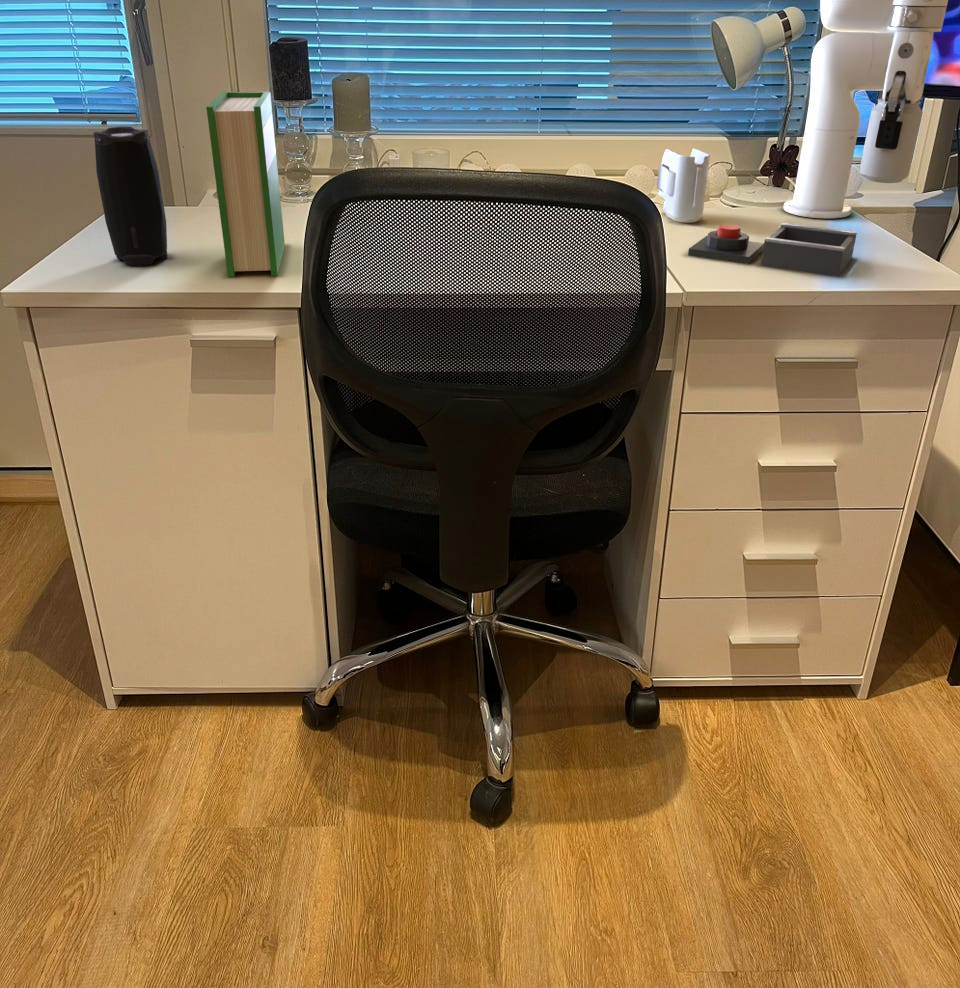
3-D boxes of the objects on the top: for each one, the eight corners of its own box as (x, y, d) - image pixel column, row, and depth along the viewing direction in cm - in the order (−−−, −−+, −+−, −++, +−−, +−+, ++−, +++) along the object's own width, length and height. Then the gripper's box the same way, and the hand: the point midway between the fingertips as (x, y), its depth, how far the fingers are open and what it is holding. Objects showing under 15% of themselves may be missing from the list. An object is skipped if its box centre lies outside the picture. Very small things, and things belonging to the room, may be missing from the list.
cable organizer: (682, 210, 183) (690, 145, 177) (708, 225, 173) (717, 157, 167) (650, 211, 182) (657, 146, 176) (675, 226, 171) (682, 158, 166)
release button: (720, 233, 157) (721, 223, 156) (741, 236, 155) (743, 225, 154) (714, 238, 154) (715, 227, 153) (735, 241, 152) (737, 230, 152)
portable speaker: (129, 251, 154) (107, 124, 144) (182, 254, 152) (163, 127, 142) (101, 265, 146) (76, 132, 137) (156, 269, 145) (134, 135, 135)
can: (911, 185, 146) (930, 103, 140) (861, 182, 148) (877, 101, 142) (902, 176, 153) (920, 97, 147) (854, 173, 154) (870, 95, 148)
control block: (705, 242, 162) (707, 225, 160) (763, 250, 158) (766, 232, 156) (687, 255, 154) (689, 237, 153) (748, 264, 150) (750, 245, 149)
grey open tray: (778, 249, 158) (782, 222, 156) (851, 258, 153) (857, 231, 151) (760, 266, 149) (764, 238, 147) (838, 277, 144) (843, 248, 142)
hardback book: (277, 275, 142) (260, 106, 130) (228, 276, 141) (206, 107, 130) (284, 245, 157) (270, 91, 146) (240, 246, 157) (221, 92, 145)
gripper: (937, 23, 131) (907, 155, 139) (949, 18, 144) (921, 139, 153) (880, 21, 134) (855, 150, 143) (897, 17, 147) (873, 135, 156)
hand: (889, 143), depth 148 cm, fingers closed on can, 7 cm apart
